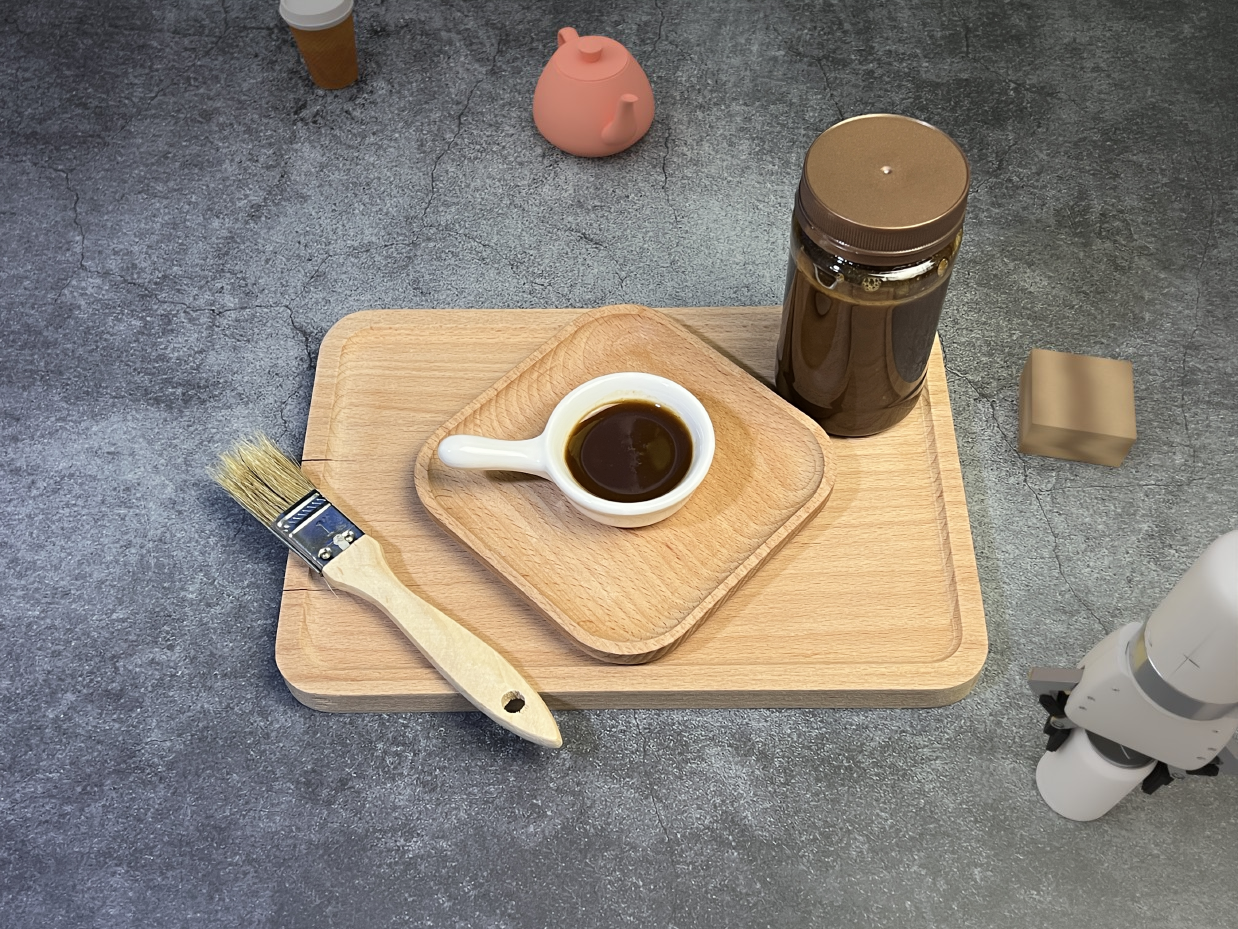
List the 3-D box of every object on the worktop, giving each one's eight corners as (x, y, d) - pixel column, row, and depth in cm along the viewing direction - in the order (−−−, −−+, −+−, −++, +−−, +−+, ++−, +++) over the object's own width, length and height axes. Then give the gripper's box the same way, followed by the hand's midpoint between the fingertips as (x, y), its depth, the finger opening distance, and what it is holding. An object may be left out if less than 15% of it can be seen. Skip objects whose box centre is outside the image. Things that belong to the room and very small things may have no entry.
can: (1081, 736, 96) (1131, 680, 86) (1128, 805, 92) (1186, 755, 82) (1018, 765, 94) (1062, 711, 85) (1063, 835, 91) (1114, 788, 81)
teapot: (690, 164, 139) (693, 80, 129) (577, 202, 136) (571, 118, 125) (616, 68, 151) (613, -17, 140) (510, 101, 147) (500, 16, 137)
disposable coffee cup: (287, 87, 150) (262, 7, 140) (324, 48, 155) (302, -33, 145) (347, 104, 147) (326, 23, 138) (383, 63, 152) (365, -18, 142)
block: (1115, 392, 117) (1132, 361, 113) (1119, 467, 112) (1137, 439, 108) (1018, 377, 119) (1032, 347, 114) (1018, 452, 113) (1032, 423, 109)
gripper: (1339, 669, 73) (1222, 762, 87) (1075, 566, 77) (1006, 671, 92) (1324, 769, 69) (1204, 849, 83) (1047, 654, 74) (980, 749, 88)
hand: (1101, 755), depth 88 cm, fingers open, 6 cm apart
